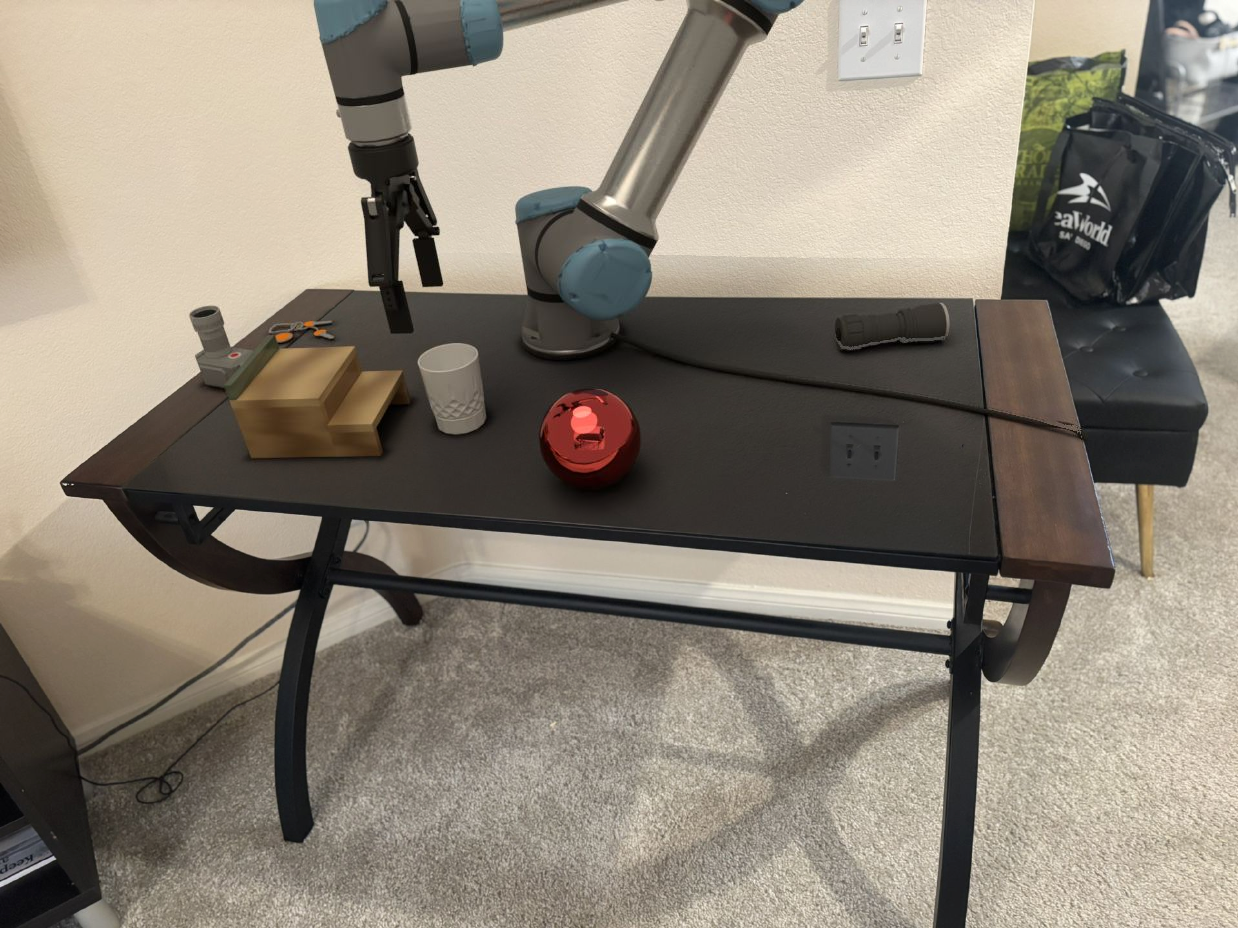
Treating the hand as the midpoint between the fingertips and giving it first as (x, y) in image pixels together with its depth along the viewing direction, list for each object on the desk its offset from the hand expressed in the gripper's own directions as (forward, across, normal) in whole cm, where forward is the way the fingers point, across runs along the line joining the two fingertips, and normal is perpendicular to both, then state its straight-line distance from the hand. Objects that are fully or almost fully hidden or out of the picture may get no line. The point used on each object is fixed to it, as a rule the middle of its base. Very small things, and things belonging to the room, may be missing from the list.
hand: (418, 308), depth 116 cm
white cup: (+17, +1, +3) cm, 17 cm away
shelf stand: (+17, +2, -15) cm, 23 cm away
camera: (+17, -11, -33) cm, 39 cm away
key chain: (+17, -28, -32) cm, 45 cm away
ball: (+17, +14, +23) cm, 32 cm away
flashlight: (+17, -19, +62) cm, 67 cm away
